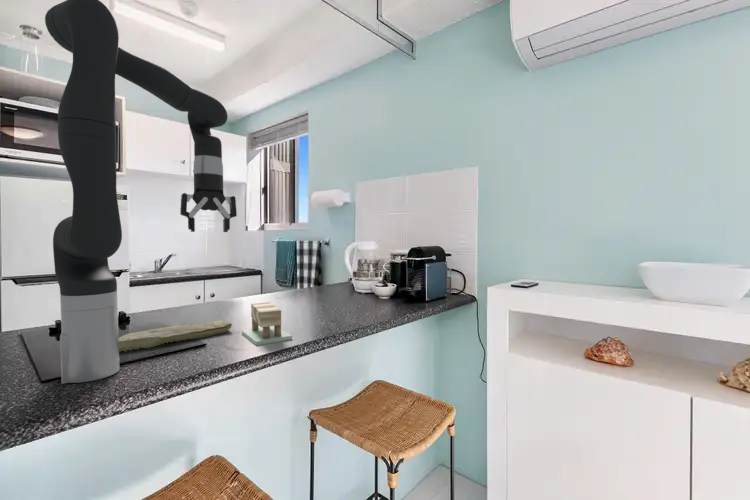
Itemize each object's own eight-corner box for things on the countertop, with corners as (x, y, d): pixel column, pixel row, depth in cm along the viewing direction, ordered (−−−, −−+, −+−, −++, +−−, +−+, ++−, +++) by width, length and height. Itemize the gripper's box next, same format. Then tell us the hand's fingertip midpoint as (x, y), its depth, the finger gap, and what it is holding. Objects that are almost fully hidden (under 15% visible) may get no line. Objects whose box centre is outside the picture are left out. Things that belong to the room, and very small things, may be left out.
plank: (281, 324, 99) (281, 310, 99) (260, 327, 96) (260, 312, 96) (270, 315, 111) (269, 302, 111) (251, 317, 108) (251, 303, 108)
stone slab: (105, 334, 96) (219, 313, 117) (106, 349, 97) (220, 326, 117) (112, 343, 87) (235, 319, 108) (113, 360, 88) (236, 333, 108)
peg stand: (292, 339, 101) (292, 323, 101) (256, 345, 95) (255, 328, 95) (274, 328, 112) (274, 314, 112) (241, 333, 107) (241, 318, 106)
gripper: (181, 169, 94) (183, 231, 95) (238, 174, 102) (239, 232, 103) (178, 173, 100) (179, 232, 101) (231, 178, 109) (232, 232, 109)
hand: (209, 231), depth 102 cm, fingers open, 8 cm apart
